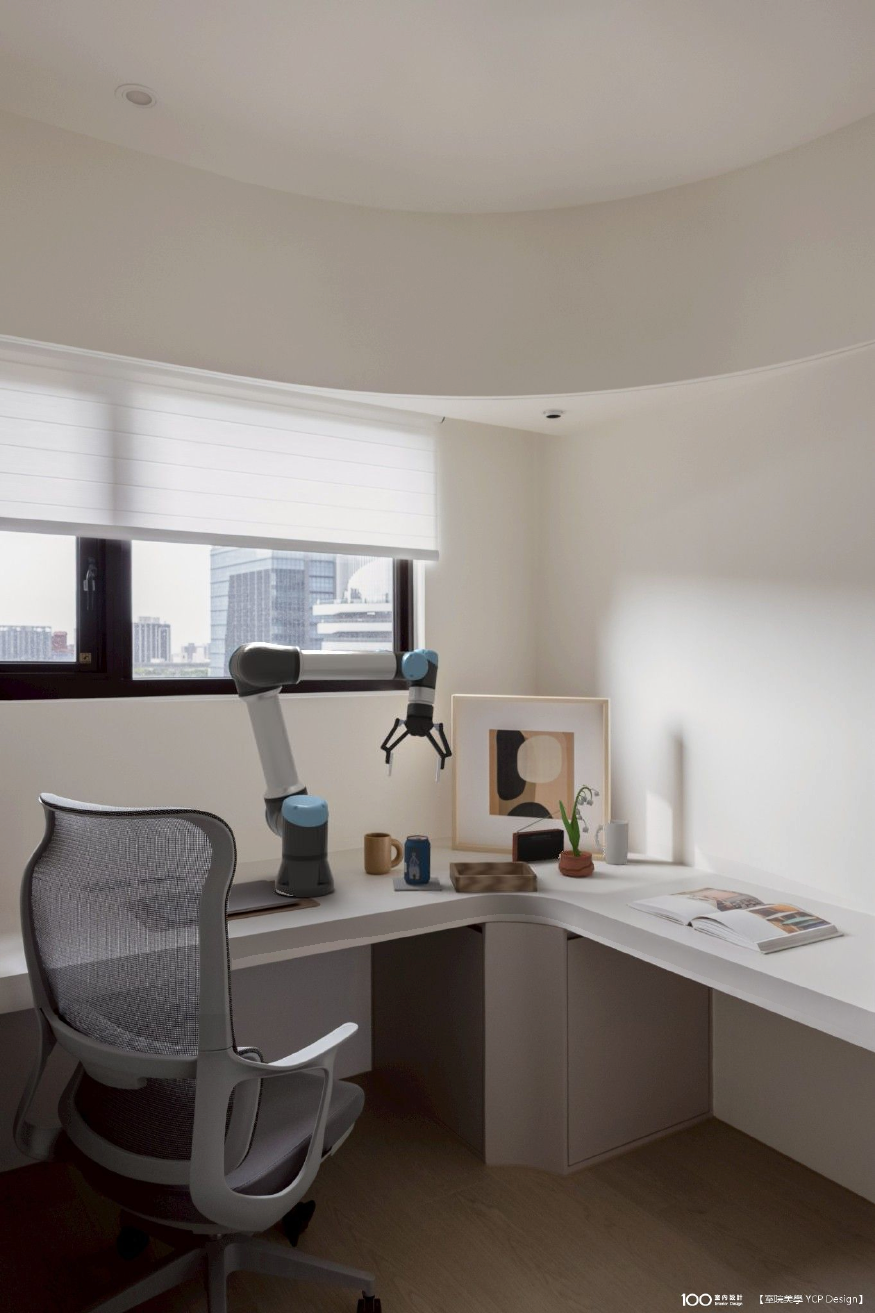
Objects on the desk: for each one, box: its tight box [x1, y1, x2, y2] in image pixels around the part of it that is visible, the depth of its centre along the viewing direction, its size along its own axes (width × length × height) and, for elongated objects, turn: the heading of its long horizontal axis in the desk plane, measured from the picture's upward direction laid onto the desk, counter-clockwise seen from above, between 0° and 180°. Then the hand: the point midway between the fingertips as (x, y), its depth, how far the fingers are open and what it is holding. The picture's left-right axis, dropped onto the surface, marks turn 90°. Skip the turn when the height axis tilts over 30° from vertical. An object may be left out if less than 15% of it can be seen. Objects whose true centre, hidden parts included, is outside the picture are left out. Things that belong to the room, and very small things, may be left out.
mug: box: [594, 819, 629, 866], centre depth 268 cm, size 10×7×12 cm, turn 61°
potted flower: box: [557, 784, 600, 878], centre depth 253 cm, size 12×10×25 cm
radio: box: [511, 809, 565, 863], centre depth 270 cm, size 19×3×15 cm, turn 118°
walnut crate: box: [449, 861, 538, 893], centre depth 241 cm, size 21×16×4 cm
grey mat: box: [392, 876, 442, 892], centre depth 239 cm, size 12×12×1 cm
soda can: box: [403, 834, 431, 886], centre depth 239 cm, size 7×7×12 cm
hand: (413, 778), depth 255 cm, fingers open, 13 cm apart
